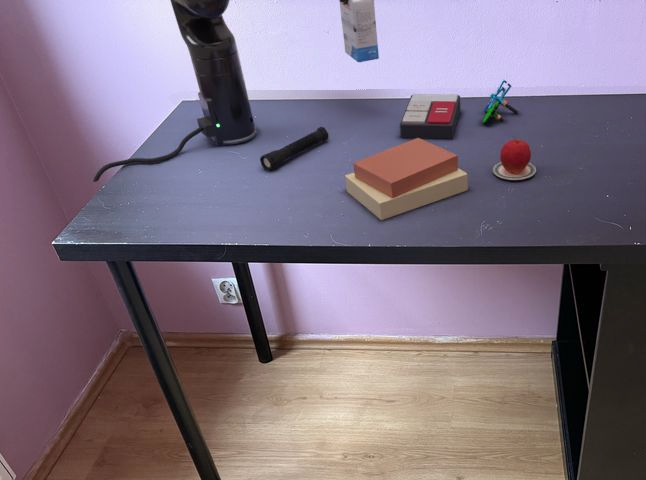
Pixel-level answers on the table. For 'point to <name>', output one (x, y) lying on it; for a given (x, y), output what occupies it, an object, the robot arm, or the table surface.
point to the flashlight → (293, 149)
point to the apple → (515, 161)
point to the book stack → (405, 178)
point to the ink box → (359, 29)
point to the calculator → (430, 116)
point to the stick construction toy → (499, 102)
